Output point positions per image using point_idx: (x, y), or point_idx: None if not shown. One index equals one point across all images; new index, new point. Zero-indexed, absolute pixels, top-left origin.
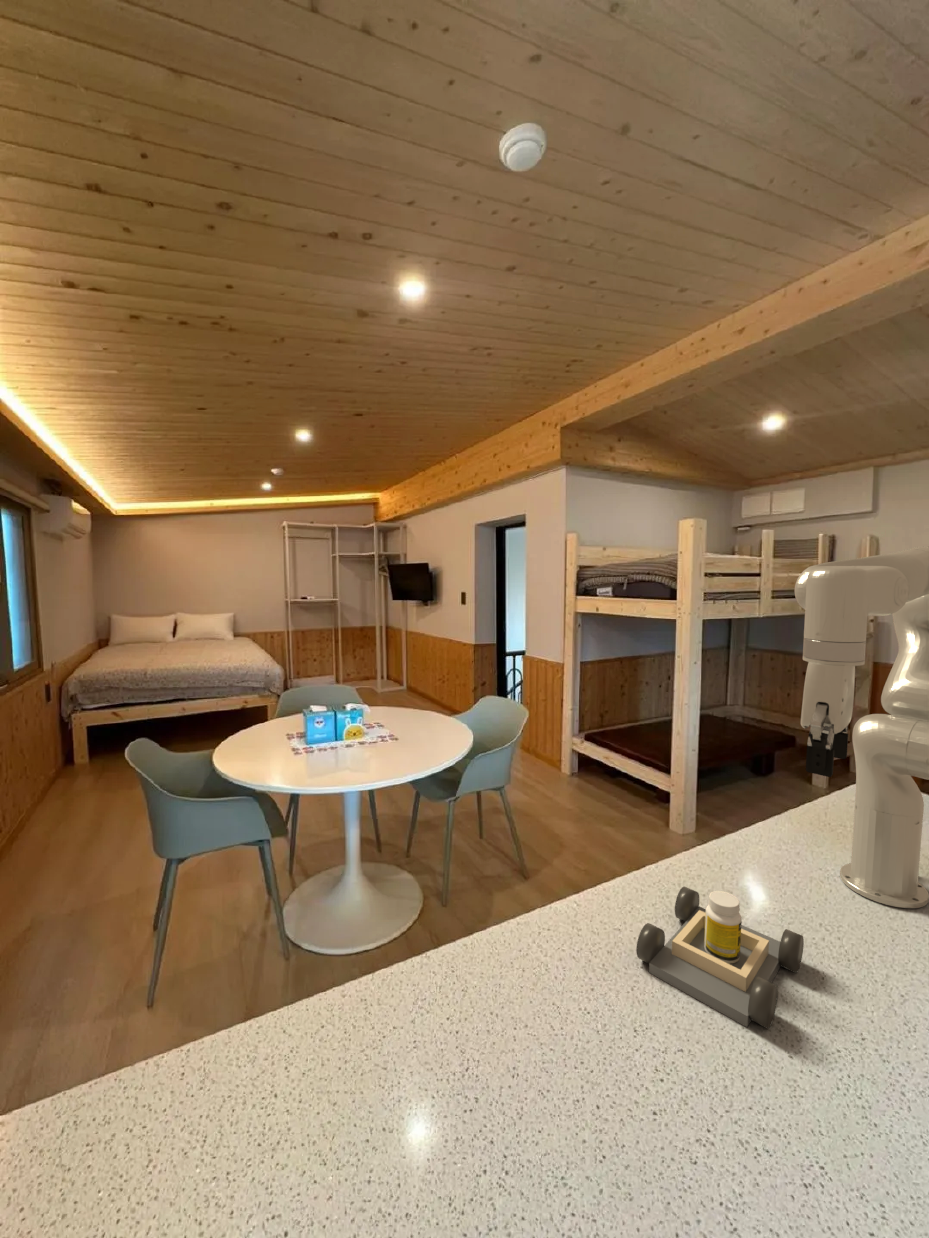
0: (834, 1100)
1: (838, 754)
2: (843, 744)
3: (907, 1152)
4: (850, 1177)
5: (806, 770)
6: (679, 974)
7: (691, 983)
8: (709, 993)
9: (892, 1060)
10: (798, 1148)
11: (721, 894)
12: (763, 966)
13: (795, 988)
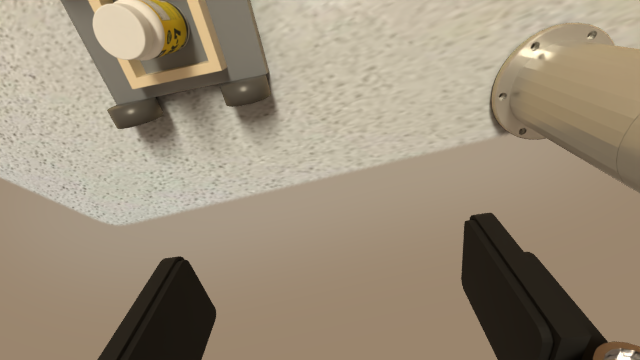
0: (139, 175)
1: (467, 280)
2: (493, 342)
3: (152, 212)
4: (99, 200)
5: (162, 260)
6: (77, 15)
7: (84, 36)
8: (97, 60)
9: (220, 186)
10: (78, 175)
11: (123, 22)
12: (199, 75)
13: (222, 104)
